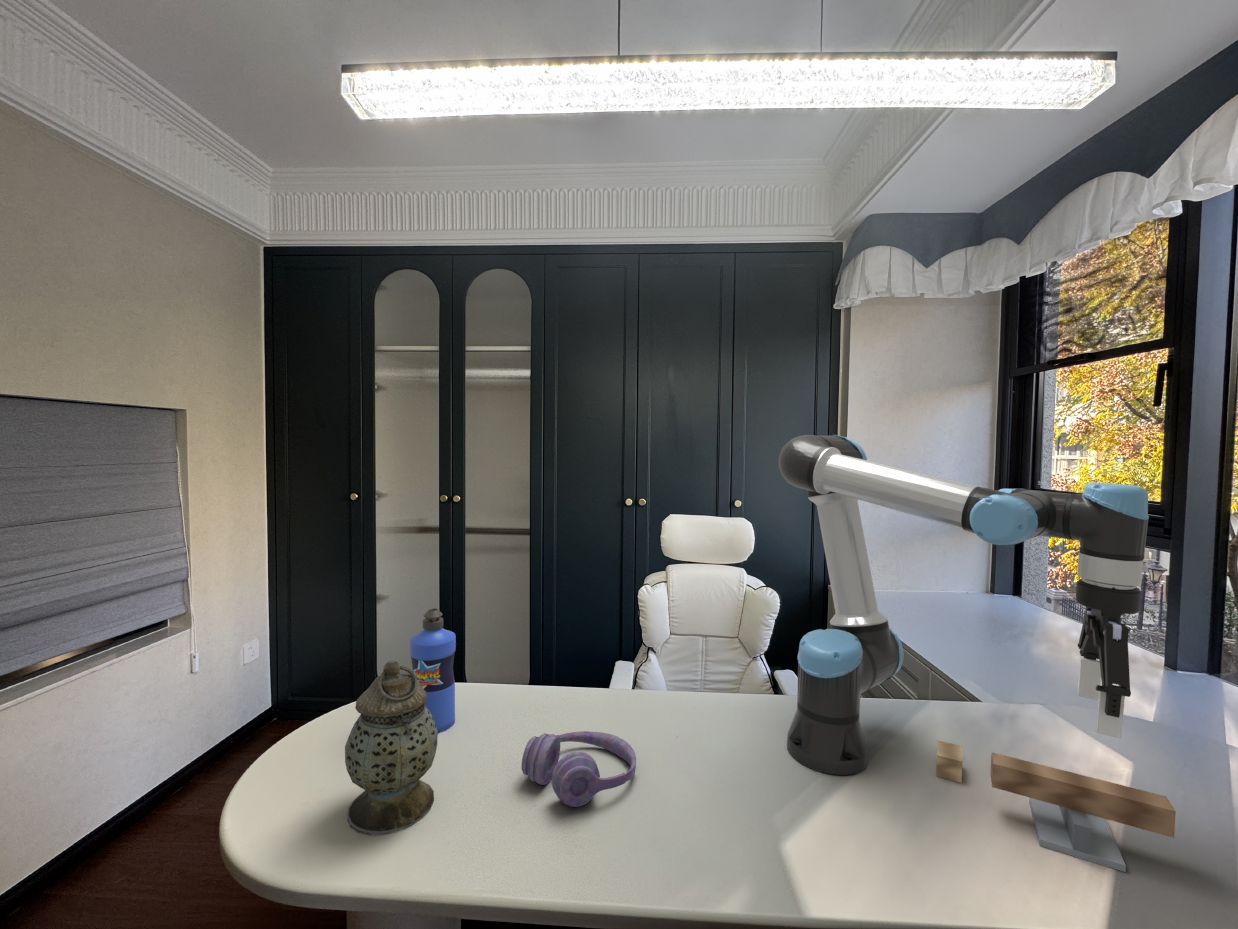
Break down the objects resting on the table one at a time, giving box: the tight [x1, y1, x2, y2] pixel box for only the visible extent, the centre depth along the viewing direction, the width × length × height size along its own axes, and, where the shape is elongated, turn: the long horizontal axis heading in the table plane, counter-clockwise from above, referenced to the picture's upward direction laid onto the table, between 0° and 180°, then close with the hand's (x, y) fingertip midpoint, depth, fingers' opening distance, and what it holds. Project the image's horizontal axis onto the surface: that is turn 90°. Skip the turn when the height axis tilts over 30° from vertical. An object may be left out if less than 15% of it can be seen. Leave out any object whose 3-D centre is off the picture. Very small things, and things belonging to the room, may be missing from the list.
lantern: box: [344, 660, 438, 836], centre depth 91 cm, size 14×14×25 cm
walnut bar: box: [990, 751, 1176, 839], centre depth 87 cm, size 22×4×4 cm, turn 59°
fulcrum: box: [1028, 797, 1127, 873], centre depth 87 cm, size 10×12×5 cm
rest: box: [935, 739, 963, 784], centre depth 104 cm, size 4×6×4 cm, turn 149°
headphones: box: [521, 730, 637, 808], centre depth 101 cm, size 18×8×20 cm
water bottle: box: [409, 608, 457, 734], centre depth 118 cm, size 9×9×25 cm
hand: (1097, 715), depth 86 cm, fingers open, 13 cm apart
